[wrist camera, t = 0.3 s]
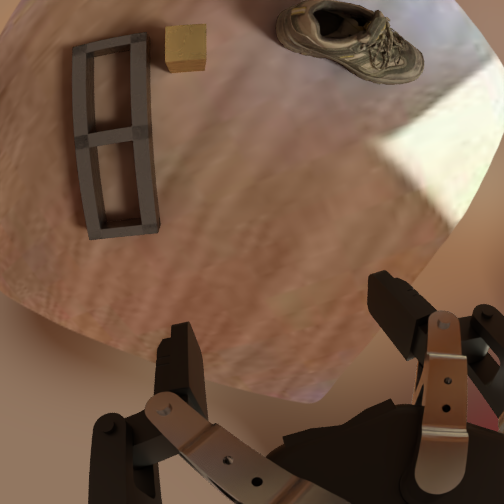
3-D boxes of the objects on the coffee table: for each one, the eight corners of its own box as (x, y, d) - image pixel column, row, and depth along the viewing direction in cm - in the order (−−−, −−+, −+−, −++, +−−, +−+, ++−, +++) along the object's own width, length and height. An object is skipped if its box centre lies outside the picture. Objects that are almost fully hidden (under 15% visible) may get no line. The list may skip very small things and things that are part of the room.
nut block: (170, 43, 29) (165, 26, 22) (204, 41, 29) (206, 23, 23) (170, 73, 30) (165, 62, 24) (204, 70, 31) (206, 59, 25)
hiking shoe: (414, 106, 35) (463, 62, 23) (269, 73, 32) (288, 2, 21) (402, 61, 36) (441, 15, 24) (270, 28, 33) (286, -37, 22)
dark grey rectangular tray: (81, 52, 26) (72, 47, 24) (150, 38, 28) (146, 32, 25) (96, 231, 36) (89, 240, 34) (160, 224, 38) (158, 233, 35)
